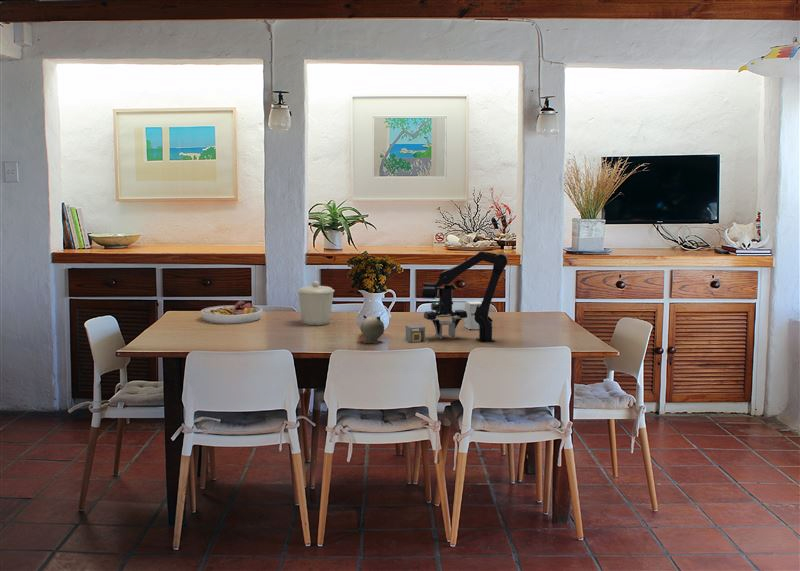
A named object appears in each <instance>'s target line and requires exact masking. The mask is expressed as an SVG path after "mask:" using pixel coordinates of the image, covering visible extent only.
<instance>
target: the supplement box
mask: <svg viewBox="0 0 800 571" xmlns="http://www.w3.org/2000/svg"><path fill="white" fill-rule="evenodd" d="M482 302H483V301H480V300H478V301H477V300H475V301H473V300H472V301H471V300H469V301H465V302H464V311H466V312H467V318H464V327H463V328H465V327H466V329H467V328H468V329H467V330H469V329H471V330H479V324H478V323H477V322H476V321H475V315H474V313H475V311H476V307H477V304H479V305H481V303H482Z"/></svg>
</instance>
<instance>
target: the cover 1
mask: <svg viewBox="0 0 800 571" xmlns="http://www.w3.org/2000/svg"><path fill="white" fill-rule="evenodd" d="M413 330H418V331H419V332H421V342H423V341H424V342H423V343H425V342H426V326H424V325H422V324H420V323H419V324H406V325H405V340H406V341H407V342H409V343H413V342H412V331H413Z"/></svg>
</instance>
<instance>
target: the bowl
mask: <svg viewBox="0 0 800 571" xmlns="http://www.w3.org/2000/svg"><path fill="white" fill-rule="evenodd" d="M262 314H263V308H262V307H259V306H255V305H254V306H253V304H252V303H251V302H248V303H246V302H245V301H243V300H239V301H237V302H236V303H235V304H234V305H233V304H232V305H231V304H230V305H217V306H209V307H206V308H203V309H201V310H200V315H201V317H202V319H203V320H204V321H206V322H207V323H212V324H218V323H219V324H222V325H223V324H224V325H234V324H236V325H237V323H238V324H245V323H252V322H255V321H257V320H258V319H260V318H261V317H262V316H263V315H262Z"/></svg>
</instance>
